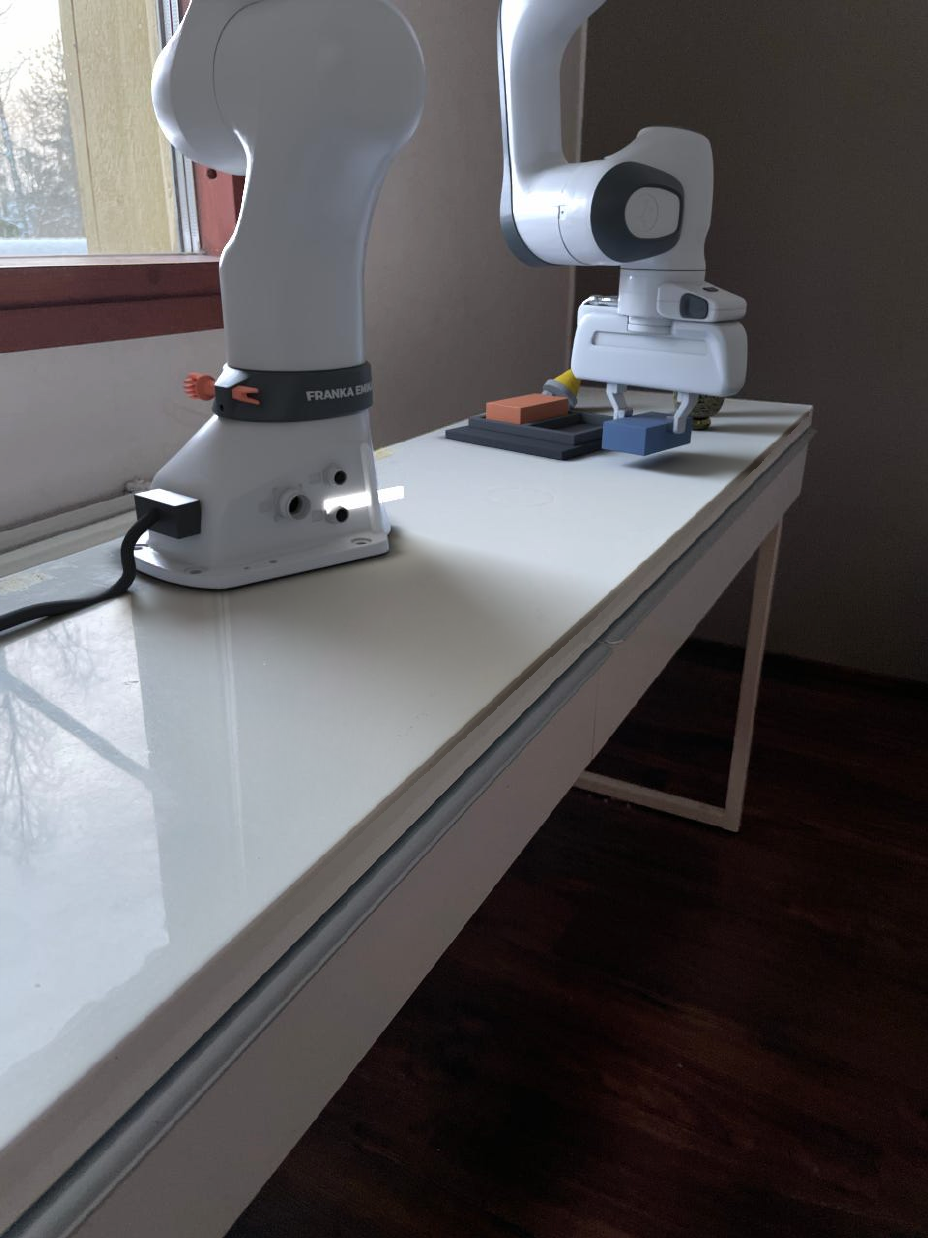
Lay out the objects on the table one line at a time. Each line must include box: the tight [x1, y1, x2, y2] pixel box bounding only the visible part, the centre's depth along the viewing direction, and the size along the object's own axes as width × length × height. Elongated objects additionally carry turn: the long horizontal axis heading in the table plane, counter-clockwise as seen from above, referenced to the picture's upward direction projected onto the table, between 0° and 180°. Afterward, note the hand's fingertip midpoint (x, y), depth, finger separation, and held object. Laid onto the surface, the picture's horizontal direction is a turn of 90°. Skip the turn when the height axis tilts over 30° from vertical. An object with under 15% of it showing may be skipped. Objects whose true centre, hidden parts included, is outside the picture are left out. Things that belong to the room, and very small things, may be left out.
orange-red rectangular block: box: [485, 392, 569, 425], centre depth 122 cm, size 10×6×3 cm, turn 138°
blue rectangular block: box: [601, 411, 693, 457], centre depth 107 cm, size 10×6×3 cm, turn 138°
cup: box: [672, 391, 726, 431], centre depth 124 cm, size 8×7×8 cm
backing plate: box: [444, 409, 614, 461], centre depth 120 cm, size 20×18×2 cm
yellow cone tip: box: [541, 368, 582, 410], centre depth 136 cm, size 5×5×10 cm
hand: (648, 428), depth 107 cm, fingers closed on blue rectangular block, 5 cm apart
